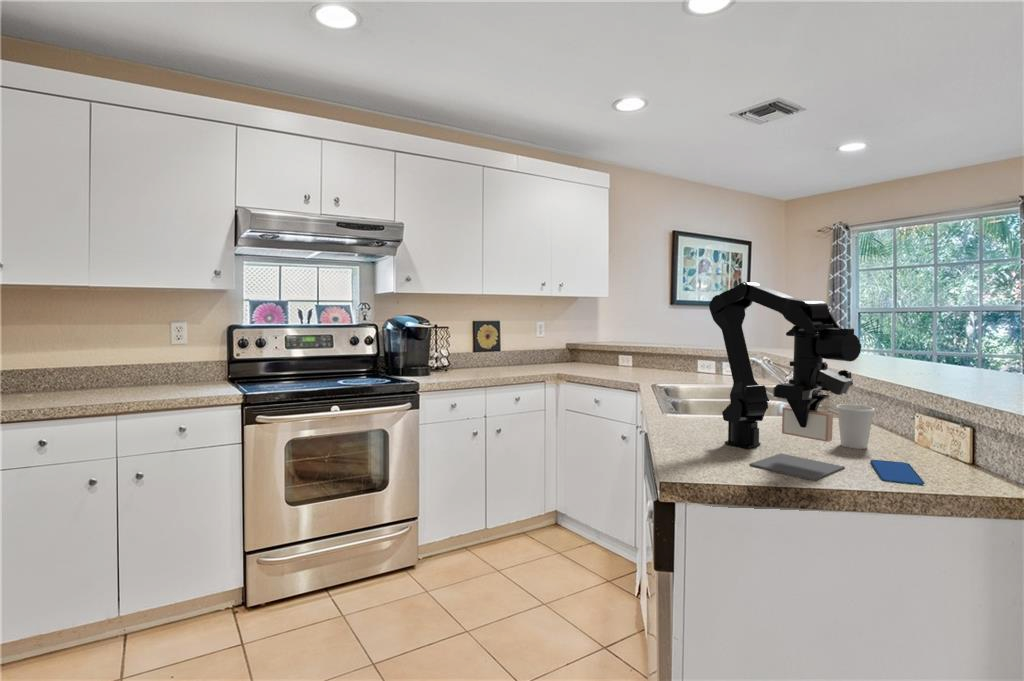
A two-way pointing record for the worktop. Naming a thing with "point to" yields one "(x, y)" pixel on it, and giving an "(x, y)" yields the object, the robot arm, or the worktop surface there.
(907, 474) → the smartphone
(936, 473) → the worktop surface
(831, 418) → the block
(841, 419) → the dixie cup
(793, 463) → the mat
